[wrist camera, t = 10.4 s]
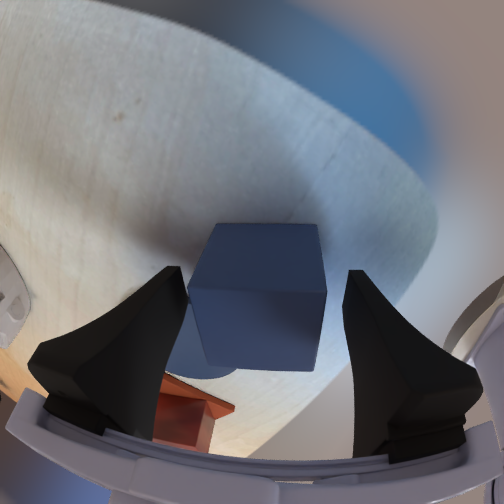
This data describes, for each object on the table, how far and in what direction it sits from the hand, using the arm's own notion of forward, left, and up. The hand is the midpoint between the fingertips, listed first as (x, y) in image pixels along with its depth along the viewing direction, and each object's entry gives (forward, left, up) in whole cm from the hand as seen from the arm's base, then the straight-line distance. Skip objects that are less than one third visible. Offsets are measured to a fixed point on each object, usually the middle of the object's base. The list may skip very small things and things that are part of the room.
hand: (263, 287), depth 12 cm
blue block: (0, 0, -2) cm, 2 cm away
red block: (+7, +15, -1) cm, 17 cm away
